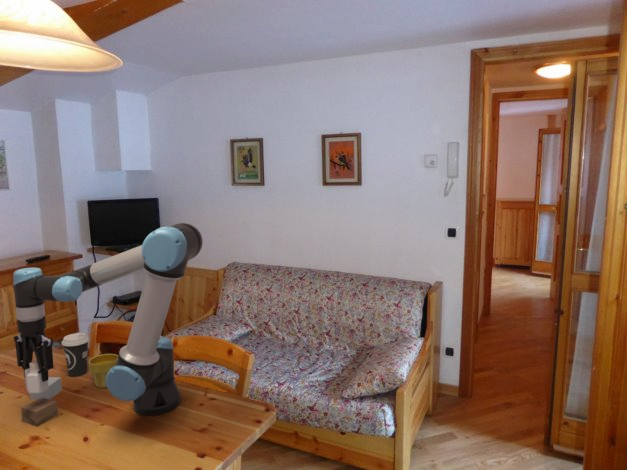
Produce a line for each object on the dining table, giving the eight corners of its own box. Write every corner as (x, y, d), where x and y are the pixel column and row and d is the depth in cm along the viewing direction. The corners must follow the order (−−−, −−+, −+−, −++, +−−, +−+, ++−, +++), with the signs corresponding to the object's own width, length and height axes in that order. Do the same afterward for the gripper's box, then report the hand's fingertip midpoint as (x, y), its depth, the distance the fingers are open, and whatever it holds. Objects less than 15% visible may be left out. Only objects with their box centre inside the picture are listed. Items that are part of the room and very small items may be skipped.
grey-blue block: (62, 390, 164) (61, 377, 163) (49, 400, 157) (48, 386, 156) (43, 389, 164) (42, 376, 164) (30, 399, 158) (29, 385, 157)
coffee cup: (83, 378, 173) (80, 341, 171) (58, 378, 173) (55, 341, 171) (96, 368, 182) (93, 332, 180) (72, 368, 182) (69, 332, 180)
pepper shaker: (35, 387, 146) (33, 359, 144) (47, 388, 146) (45, 360, 144) (27, 393, 142) (24, 365, 140) (39, 394, 142) (37, 365, 140)
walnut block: (58, 416, 147) (56, 401, 146) (37, 427, 140) (35, 412, 140) (43, 411, 149) (42, 397, 149) (22, 422, 143) (21, 407, 142)
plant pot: (107, 375, 176) (105, 351, 174) (126, 380, 171) (125, 355, 170) (83, 387, 166) (81, 361, 165) (103, 392, 162) (102, 366, 161)
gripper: (63, 317, 141) (69, 387, 144) (20, 311, 147) (26, 380, 150) (42, 324, 134) (48, 399, 137) (-2, 318, 139) (5, 390, 143)
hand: (37, 388), depth 143 cm, fingers closed on pepper shaker, 5 cm apart
